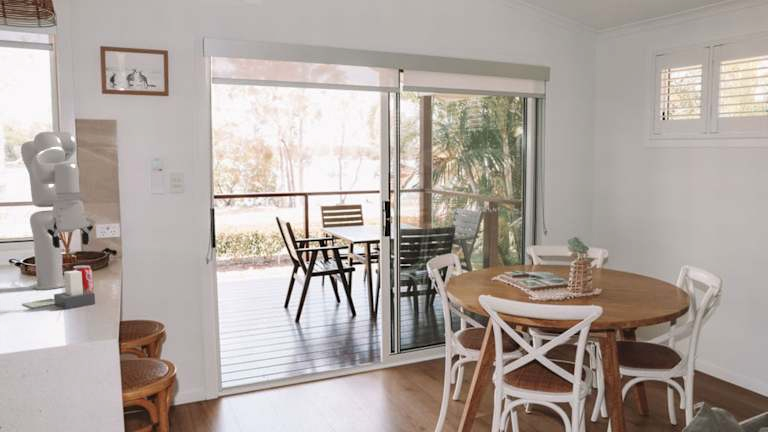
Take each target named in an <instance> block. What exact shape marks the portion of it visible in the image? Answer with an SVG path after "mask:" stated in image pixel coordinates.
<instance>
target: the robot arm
mask: <svg viewBox="0 0 768 432" xmlns="http://www.w3.org/2000/svg"><path fill="white" fill-rule="evenodd" d="M76 150H77V140H76V137H75V136H74V135H73V134H72V133H70V132H68V131H42V132H38V133H37V134H36V135H35V136H34V138H33V140H29V141H26V142H23V143H22V145H21V147H20V151H21V152H20V153H21V154H20V155H21V158H22V161H23V164H24V165H25V168H26V169H27V172H28V175H29V183H30V186H29V187H30V192H31V202H32V203H33V205H34V206H35V207H37V208H52V209H51V210H40V211H36V212H34V213H31V215H30V217H29V222H30V223H29V224H30V228H31V232H32V237H33V246H34V258H35V273H36V283H35V284H33V285H32V289H34V290H41V291H43V290H54V289H60V288H65V280H64V277H63V276H64V275H63V274H64V271H63V259H62V258H63V257H62V245H61V242H60V236H59V235H60V233H61V234H62V233H64V234H65V233H71V232H75V231H77V230H80V231H82V234H81V243H82V245H88V246H89V242H90V239H89V237H90V236H89V234H90V232H91V231H92V230H93V228H94V225H95V224H96V220H95V219H92V218H89V217H87V216H86V212H85V207H84V204H83V201H82V200H81V199H82V198H83V199H84V197H85V195H84V193H81V192H80V179H79V178H80V171H79V170H80V169H79V167H78V164H76V163H73V162H67V161H69V160H70V159H71V158H72V156H73V155H74V154H75V152H76ZM87 223H88V225H87Z"/></svg>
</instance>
